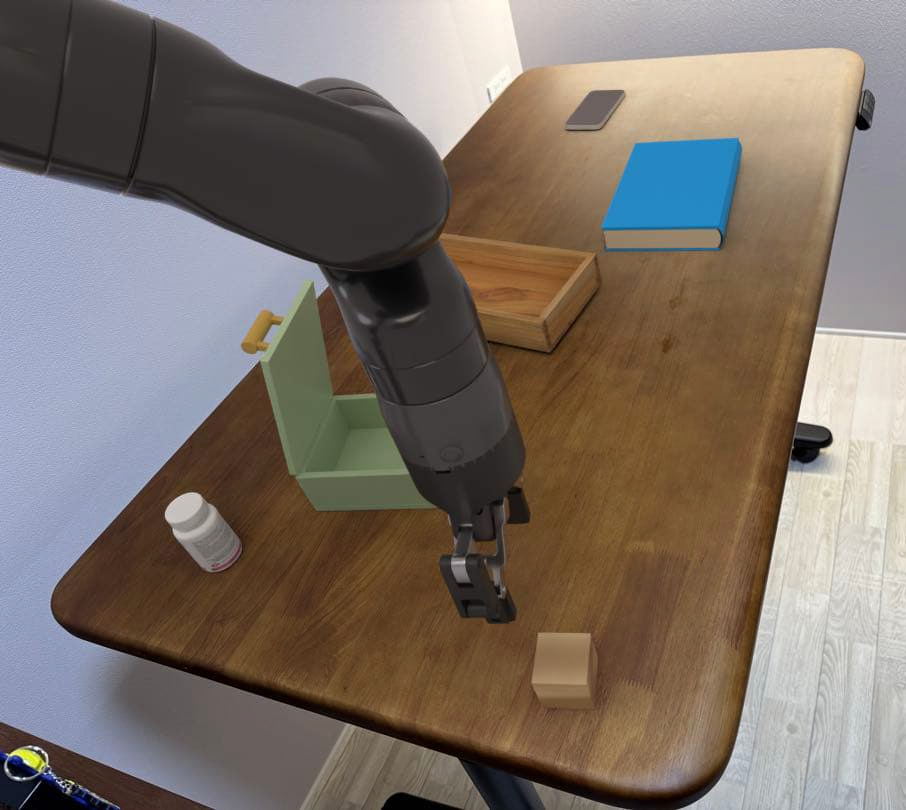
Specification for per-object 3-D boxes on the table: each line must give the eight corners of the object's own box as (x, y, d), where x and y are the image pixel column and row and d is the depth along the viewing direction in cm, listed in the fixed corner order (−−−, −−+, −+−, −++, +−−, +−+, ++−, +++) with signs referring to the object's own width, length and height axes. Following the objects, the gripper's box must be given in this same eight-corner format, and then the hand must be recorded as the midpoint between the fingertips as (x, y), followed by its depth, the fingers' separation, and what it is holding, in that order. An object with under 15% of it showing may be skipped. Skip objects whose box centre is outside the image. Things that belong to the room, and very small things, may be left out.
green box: (470, 423, 92) (457, 388, 88) (448, 508, 83) (432, 473, 80) (349, 429, 96) (331, 395, 92) (316, 511, 87) (294, 477, 83)
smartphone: (626, 89, 149) (600, 125, 140) (627, 94, 150) (600, 130, 140) (590, 90, 152) (562, 125, 143) (591, 94, 153) (563, 130, 143)
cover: (313, 280, 80) (269, 274, 80) (268, 361, 71) (219, 355, 71) (333, 393, 91) (295, 388, 92) (296, 475, 83) (254, 469, 83)
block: (594, 709, 65) (586, 684, 62) (541, 707, 66) (531, 683, 62) (598, 659, 68) (590, 633, 65) (548, 658, 69) (538, 632, 66)
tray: (367, 318, 112) (353, 286, 108) (426, 258, 121) (415, 227, 117) (550, 358, 98) (541, 323, 94) (603, 288, 106) (597, 253, 102)
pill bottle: (250, 537, 86) (214, 488, 80) (232, 574, 83) (193, 526, 77) (212, 536, 87) (174, 489, 81) (193, 573, 84) (152, 526, 78)
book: (600, 228, 110) (633, 140, 126) (605, 253, 113) (636, 165, 129) (724, 225, 104) (741, 134, 121) (725, 252, 107) (742, 159, 124)
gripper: (419, 346, 53) (478, 494, 64) (363, 513, 43) (445, 654, 54) (525, 337, 52) (567, 490, 63) (493, 508, 42) (550, 655, 53)
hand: (510, 566), depth 59 cm, fingers open, 8 cm apart
